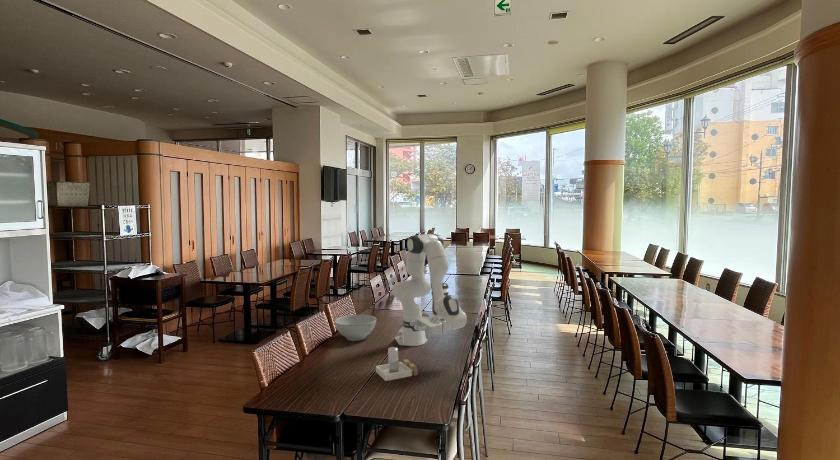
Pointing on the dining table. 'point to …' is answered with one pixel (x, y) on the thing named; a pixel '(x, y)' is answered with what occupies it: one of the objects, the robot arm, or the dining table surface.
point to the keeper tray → (384, 373)
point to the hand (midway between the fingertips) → (414, 326)
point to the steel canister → (393, 359)
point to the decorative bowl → (355, 326)
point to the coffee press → (445, 292)
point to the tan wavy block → (411, 366)
